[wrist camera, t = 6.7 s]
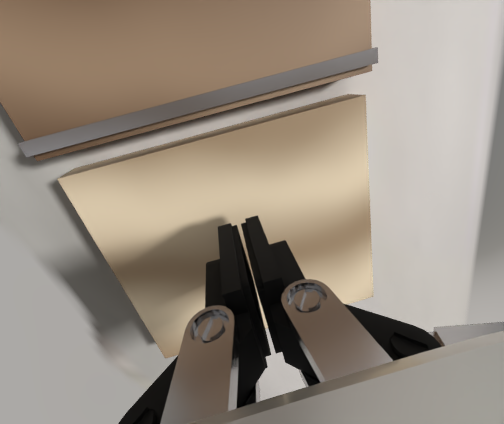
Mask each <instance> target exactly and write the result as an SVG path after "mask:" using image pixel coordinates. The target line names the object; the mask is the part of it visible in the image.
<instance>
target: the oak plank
mask: <svg viewBox="0 0 504 424" xmlns="http://www.w3.org/2000/svg"><path fill="white" fill-rule="evenodd" d="M58 181H59V183H60V184H61V186H62V188H63V189H64V191H65V193H66V194H67V196H68V198H69V199H70V201H71V203H72V204H73V206H74V208H75V209H76V211H77V213H78V214H79V216H80V218H81V219H82V221H83V223H84V224H85V226H86V228H87V229H88V231H89V233H90V234H91V236H92V238H93V239H94V241H95V243H96V244H97V246H98V247H99V249H100V251H101V252H102V254H103V256H104V257H105V259H106V261H107V262H108V264H109V266H110V267H111V269H112V271H113V272H114V274H115V276H116V277H117V279H118V281H119V282H120V284H121V286H122V287H123V289H124V291H125V292H126V294H127V296H128V297H129V299H130V301H131V302H132V304H133V306H134V307H135V309H136V311H137V312H138V314H139V316H140V317H141V319H142V320H143V322H144V324H145V325H146V327H147V329H148V330H149V332H150V334H151V335H152V337H153V339H154V340H155V342H156V344H157V345H158V347H159V349H160V350H161V352H162V354H163V355H164V357H165V358H169V357H172V356H175V355H179V351H180V347H181V344H182V340H183V336H184V332H185V329H186V326H187V324H188V322H189V321H190V320H191V318H192V317H193V316H194V315H195V314H197V313H198V312H199V311H201V310H203V309H204V308H205V286H206V263H207V262H210V261H213V260H217V259H220V256H219V240H218V226H222V225H225V224H229V223H231V225H232V226H234V225H237V227H238V230H239V233H240V237H241V240H242V243H243V247H244V250H245V253H246V257H247V260H248V263H249V267H250V270H251V273H252V269H251V264H250V260H249V256H248V252H247V248H246V243H245V239H244V235H243V231H242V227H241V223H245V222H246V221H245V219H246V218H250V217H253V216H257V215H258V217H259V220H260V222H261V225H262V227H263V230H264V233H265V235H266V238H267V240H268V243H269V244H273V243H276V242H280V241H283V240H286V242H287V244H288V246H289V248H290V250H291V252H292V253H293V255H294V257H295V259H296V261H297V263H298V265H299V267H300V269H301V271H302V273H303V275H304V277H305V279H313V280H318V281H320V282H323V283H324V284H325V285H327V286H328V287H329V288H330V289H331V290H332V291H333V293H334V294H335V295H336V296H337V297H338V298H339V299H340V301H341V302H342V303H343V304H346V305H347V304H350V303H354V302H357V301H360V300H364V299H367V298H370V297H373V272H372V247H371V222H370V197H369V171H368V146H367V121H366V95H354V94H347V95H343V96H339V97H336V98H332V99H328V100H325V101H321V102H317V103H314V104H310V105H306V106H303V107H299V108H295V109H292V110H288V111H284V112H280V113H277V114H273V115H269V116H266V117H262V118H258V119H255V120H251V121H247V122H244V123H240V124H236V125H233V126H229V127H225V128H222V129H218V130H214V131H211V132H207V133H203V134H200V135H196V136H192V137H189V138H185V139H181V140H177V141H174V142H170V143H166V144H163V145H159V146H155V147H152V148H148V149H144V150H141V151H137V152H133V153H130V154H126V155H122V156H119V157H115V158H111V159H108V160H104V161H100V162H97V163H93V164H89V165H86V166H82V167H78V168H75V169H73V170H71V171H70V172H68V173H66V174H65V175H63V176H61V177H60V178H58ZM252 276H253V273H252ZM253 280H254V277H253ZM254 284H255V281H254ZM255 288H256V285H255ZM256 292H257V288H256ZM257 297H258V301H259V305H260V309H261V314H262V318H263V322H264V326H265V329H266V328H268V325H267V322H266V319H265V315H264V312H263V309H262V305H261V302H260V299H259V295H258V292H257Z"/></svg>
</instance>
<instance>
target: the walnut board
mask: <svg viewBox="0 0 504 424" xmlns="http://www.w3.org/2000/svg"><path fill="white" fill-rule="evenodd" d="M375 63H378V47H376V48H372V47H371V8H370V0H0V103H1V104H2V106H3V107H4V109H5V111H6V112H7V114H8V115H9V117H10V119H11V120H12V122H13V123H14V125H15V127H16V128H17V130H18V131H19V133H20V135H21V136H22V138H23V139H24V142H21V143H17V144H18V145H19V147H20V148H21V150H22V151H23V153H24V155H25V156H26V157H30V156H33V155H34V157H35V159H36V160H37V161H40V160H44V159H48V158H51V157H55V156H59V155H62V154H66V153H70V152H74V151H77V150H81V149H85V148H88V147H92V146H96V145H99V144H103V143H107V142H111V141H114V140H118V139H122V138H125V137H129V136H133V135H137V134H140V133H144V132H148V131H151V130H155V129H159V128H162V127H166V126H170V125H174V124H177V123H181V122H185V121H188V120H192V119H196V118H200V117H203V116H207V115H211V114H214V113H218V112H222V111H225V110H229V109H233V108H237V107H240V106H244V105H248V104H251V103H255V102H259V101H263V100H266V99H270V98H274V97H277V96H281V95H285V94H288V93H292V92H296V91H300V90H303V89H307V88H311V87H314V86H318V85H322V84H326V83H329V82H333V81H337V80H340V79H344V78H348V77H351V76H355V75H359V74H363V73H366V72H370V71H372V64H375Z"/></svg>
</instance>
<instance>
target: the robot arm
mask: <svg viewBox="0 0 504 424" xmlns="http://www.w3.org/2000/svg"><path fill="white" fill-rule="evenodd" d="M245 221H246V222H245V223H241V227H242V231H243V235H244V239H245V243H246V248H247V252H248V256H249V260H250V264H251V269H252V273H253V276H252V273H251V270H250V267H249V263H248V260H247V257H246V253H245V250H244V247H243V243H242V240H241V237H240V233H239V230H238V227H237V225H234V226H232V225H231V223H229V224H225V225H222V226H218V240H219V256H220V259H217V260H213V261H210V262H207V263H206V286H205V308H204V309H203V310H201V311H199V312H198V313H197V314H195V315H194V316H193V317H192V318H191V320H190V321H189V322H188V324H187V326H186V329H185V332H184V336H183V340H182V344H181V347H180V351H179V355H178V356H177V357H176V359H175V360H174V361H173V362H172V363H171V364H170V365H169V366H168V367H167V368H166V370H165V371H164V372H163V373H162V374H161V375H160V376H159V377H158V378H157V380H156V381H155V382H154V383H153V384H152V385H151V386H150V387H149V388H148V389H147V391H146V392H145V393H144V394H143V395H142V396H141V397H140V398H139V399H138V401H137V402H136V403H135V404H134V405H133V406H132V407H131V408H130V409H129V410H128V412H127V413H126V414H125V416H124V417H123V418H122V419H121V421H120V422H119V424H504V322H497V323H484V324H470V325H457V326H444V327H434V332H426V331H425V330H423V329H420V328H418V327H416V326H413V325H410V324H407V323H404V322H401V321H397V320H394V319H391V318H388V317H385V316H381V315H378V314H375V313H372V312H369V311H365V310H362V309H359V308H356V307H353V306H349V305H346V304H343V303H342V302H341V301H340V299H339V298H338V297H337V296H336V295H335V294H334V293H333V291H332V290H331V289H330V288H329V287H328V286H327V285H325V284H324V283H323V282H320V281H318V280H313V279H305V277H304V275H303V273H302V271H301V269H300V267H299V265H298V263H297V261H296V259H295V257H294V255H293V253H292V252H291V250H290V248H289V246H288V244H287V242H286V240H283V241H280V242H276V243H273V244H269V243H268V240H267V238H266V235H265V233H264V230H263V227H262V225H261V222H260V220H259V217H258V215H257V216H253V217H250V218H246V219H245ZM253 277H254V280H253ZM254 281H255V284H254ZM255 285H256V288H257V292H258V295H259V299H260V302H261V305H262V309H263V312H264V315H265V319H266V322H267V325H268V328H269V332H270V335H271V338H272V342H273V345H274V348H275V352H276V353H279V352H283V356H284V359H285V362H286V363H288V364H290V365H292V366H293V367H295V368H297V369H299V372H300V375H301V378H302V380H303V382H304V384H305V386H306V388H302V389H299V390H296V391H293V392H289V393H286V394H283V395H279V396H276V397H273V398H270V399H266V400H263V401H260V386H259V381H258V379H259V378H260V376H261V375H262V373H263V371H264V370H265V368H267V362H266V358H265V357H266V356H269V355H271V352H270V348H269V344H268V339H267V335H266V331H265V326H264V322H263V318H262V314H261V309H260V305H259V301H258V297H257V292H256V288H255Z"/></svg>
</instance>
